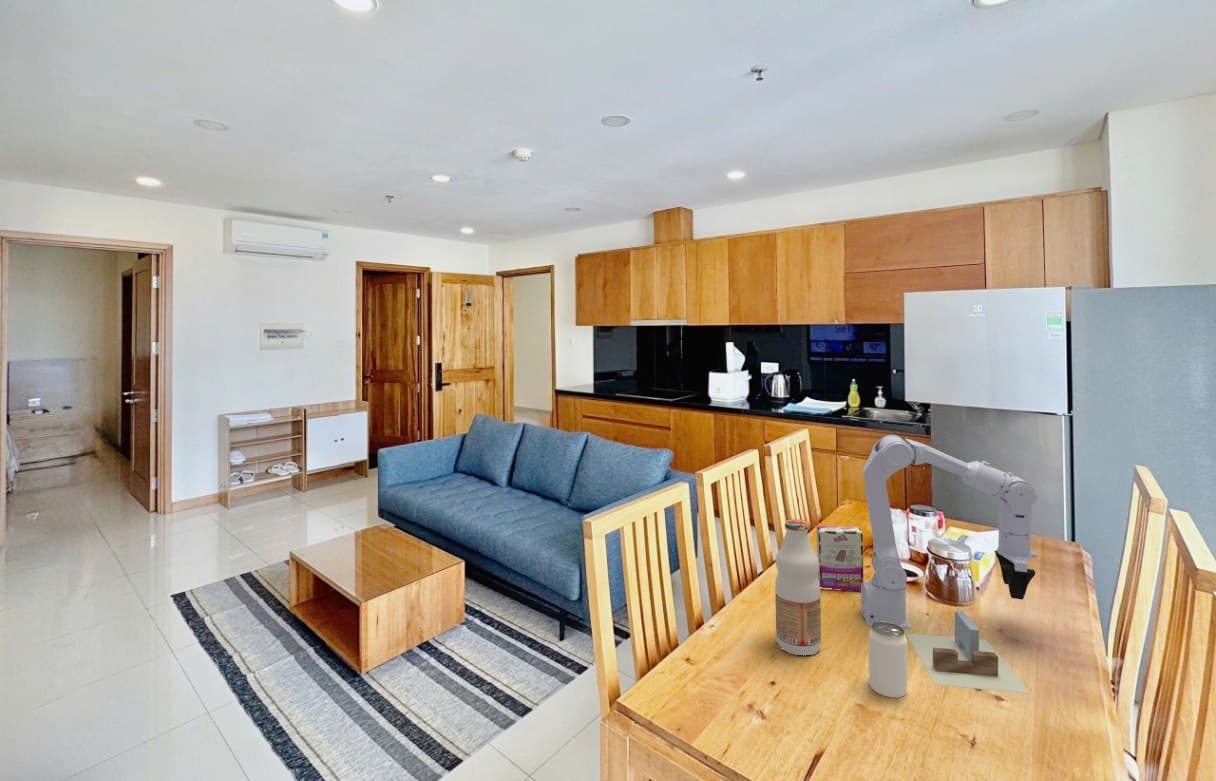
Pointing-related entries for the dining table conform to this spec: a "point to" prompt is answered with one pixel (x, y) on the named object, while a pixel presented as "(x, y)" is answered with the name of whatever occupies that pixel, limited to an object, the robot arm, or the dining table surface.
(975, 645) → the grey flat block
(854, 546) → the candy bar box
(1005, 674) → the felt mat
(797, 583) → the fruit juice
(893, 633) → the can
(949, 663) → the walnut slotted plate
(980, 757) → the dining table surface
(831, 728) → the dining table surface
